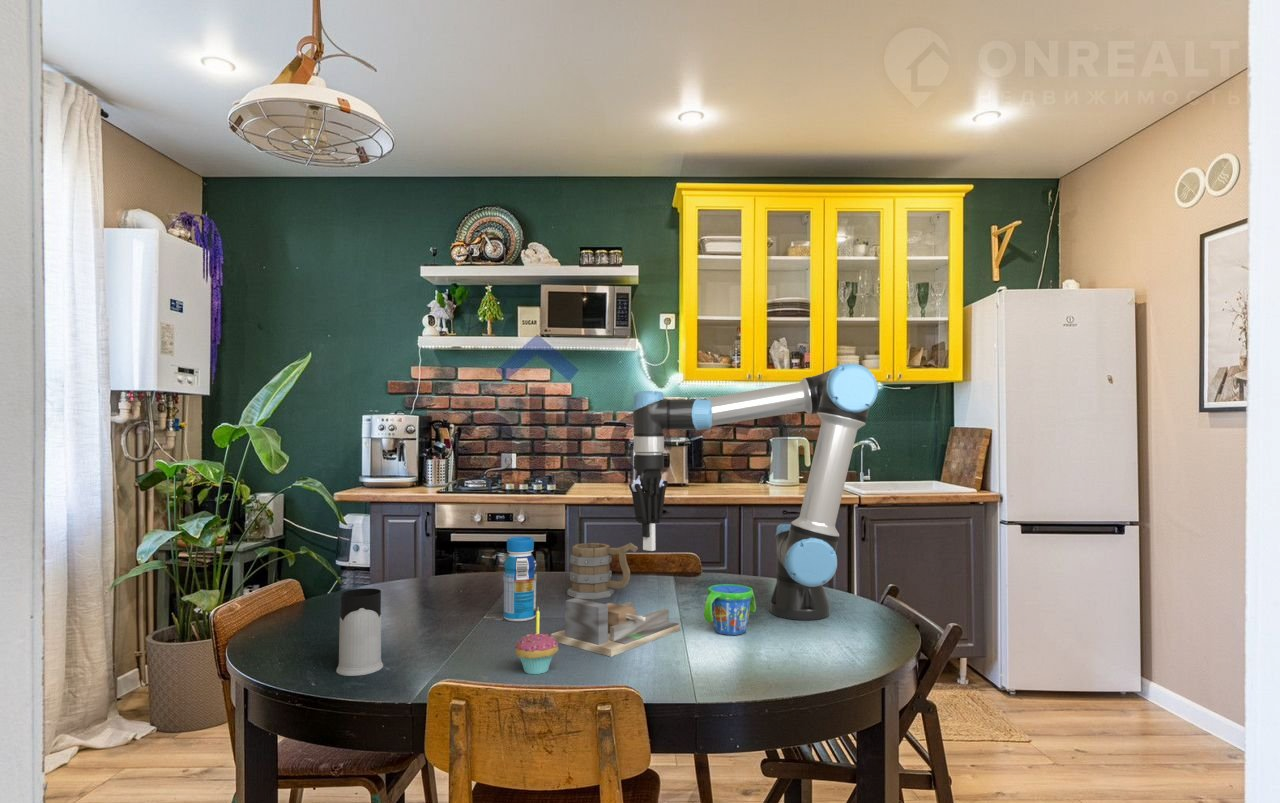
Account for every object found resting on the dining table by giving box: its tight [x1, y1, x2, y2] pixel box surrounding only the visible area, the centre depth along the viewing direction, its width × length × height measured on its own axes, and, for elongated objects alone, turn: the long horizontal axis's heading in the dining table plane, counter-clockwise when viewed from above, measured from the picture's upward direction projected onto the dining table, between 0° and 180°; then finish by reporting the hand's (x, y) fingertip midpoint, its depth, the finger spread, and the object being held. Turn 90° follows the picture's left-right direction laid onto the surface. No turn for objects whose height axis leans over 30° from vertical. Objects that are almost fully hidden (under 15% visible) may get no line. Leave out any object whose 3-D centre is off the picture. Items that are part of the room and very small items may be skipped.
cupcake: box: [515, 606, 560, 675], centre depth 140 cm, size 9×8×12 cm
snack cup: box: [703, 583, 757, 636], centre depth 167 cm, size 16×10×10 cm
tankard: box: [566, 542, 639, 601], centre depth 204 cm, size 20×13×15 cm, turn 81°
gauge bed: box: [550, 597, 681, 658], centre depth 164 cm, size 18×25×10 cm
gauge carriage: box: [605, 602, 646, 632], centre depth 162 cm, size 13×6×5 cm, turn 51°
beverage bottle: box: [502, 536, 538, 623], centre depth 179 cm, size 8×8×20 cm
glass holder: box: [335, 587, 384, 677], centre depth 144 cm, size 9×14×15 cm, turn 24°
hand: (649, 549), depth 174 cm, fingers closed
